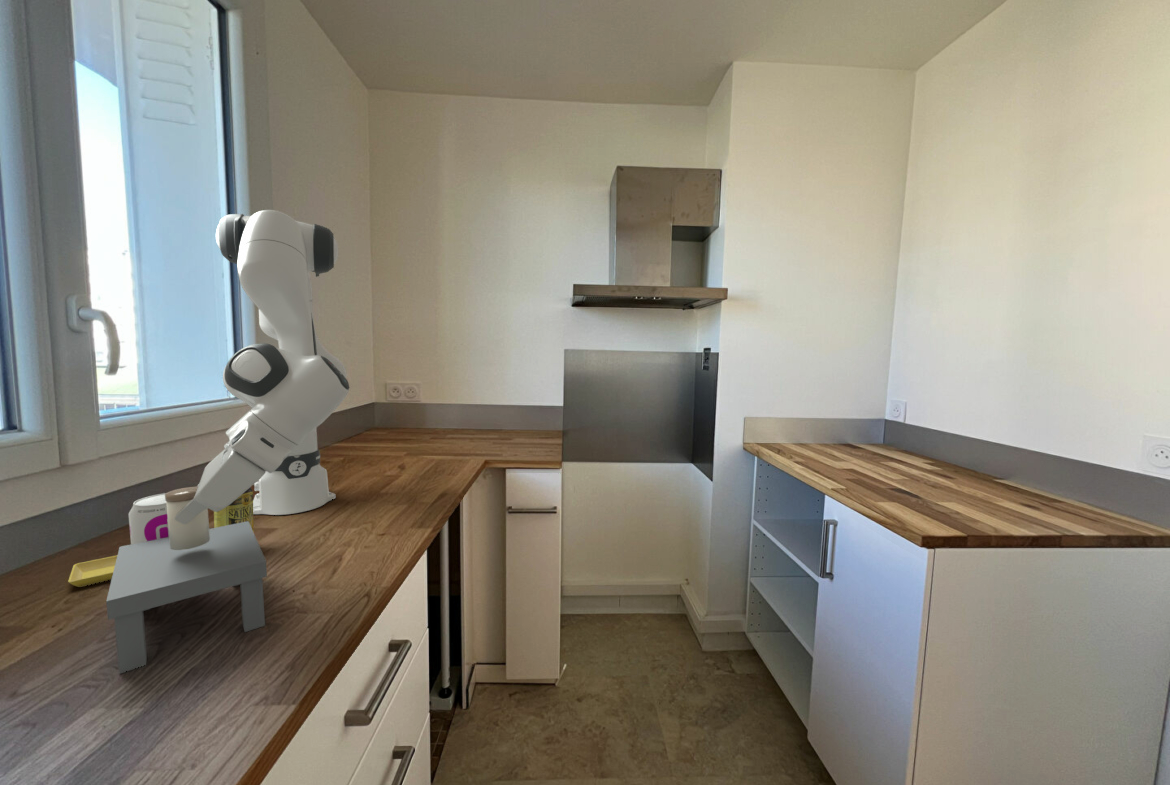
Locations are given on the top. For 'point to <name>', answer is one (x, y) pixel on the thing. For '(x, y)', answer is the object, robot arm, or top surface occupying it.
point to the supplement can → (148, 519)
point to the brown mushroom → (192, 531)
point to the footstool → (182, 582)
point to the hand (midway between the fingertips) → (182, 514)
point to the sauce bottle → (237, 511)
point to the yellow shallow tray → (92, 571)
